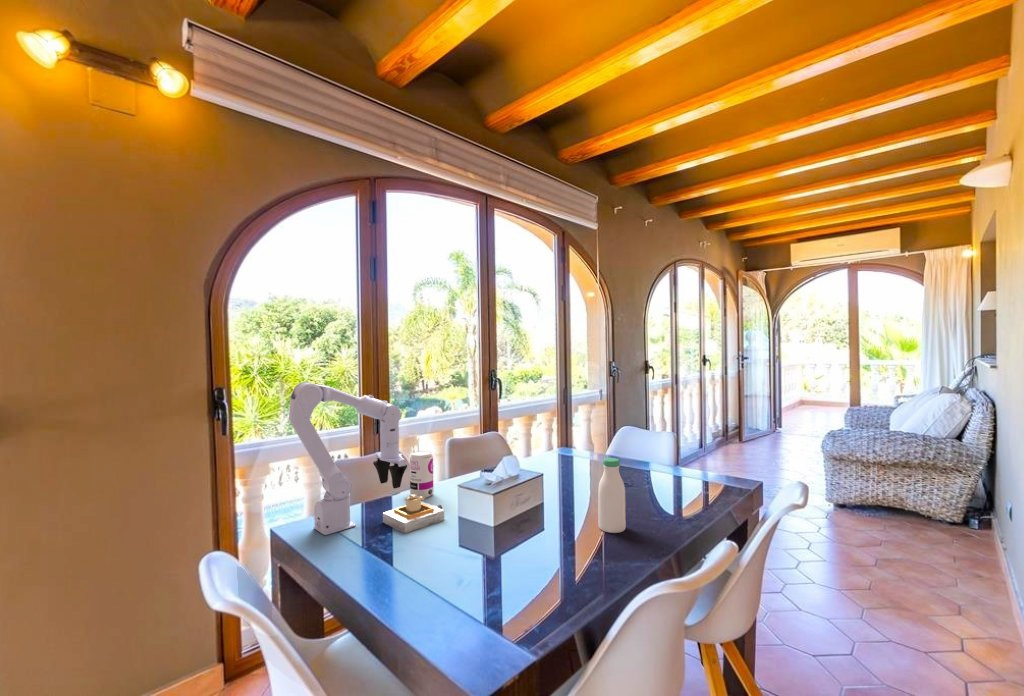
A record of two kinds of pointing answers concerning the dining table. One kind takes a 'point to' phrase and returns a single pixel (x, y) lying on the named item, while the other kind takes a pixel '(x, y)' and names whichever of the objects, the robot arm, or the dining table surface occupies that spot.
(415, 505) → the spout can
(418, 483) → the supplement can
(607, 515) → the milk bottle
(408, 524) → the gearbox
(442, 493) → the dining table surface
